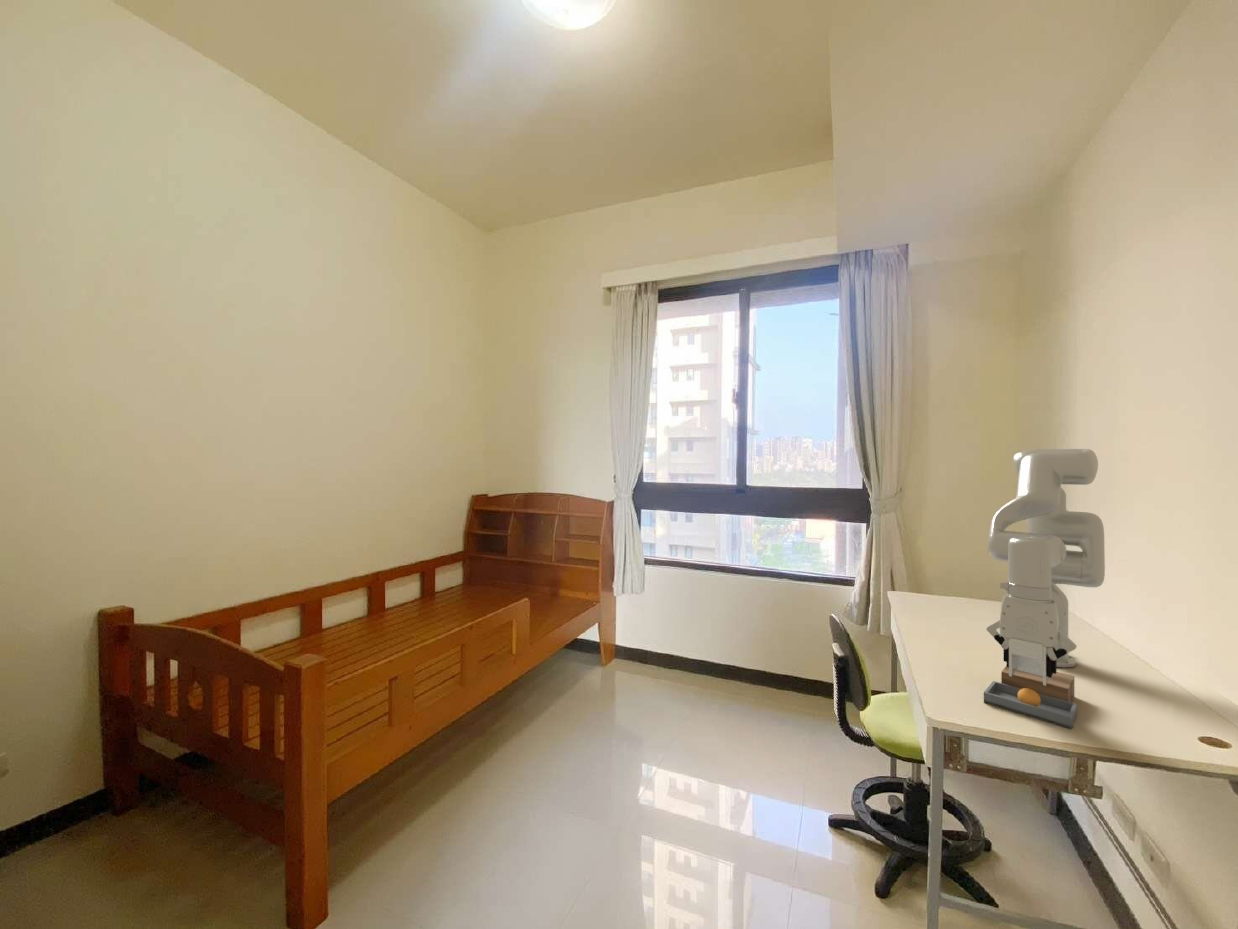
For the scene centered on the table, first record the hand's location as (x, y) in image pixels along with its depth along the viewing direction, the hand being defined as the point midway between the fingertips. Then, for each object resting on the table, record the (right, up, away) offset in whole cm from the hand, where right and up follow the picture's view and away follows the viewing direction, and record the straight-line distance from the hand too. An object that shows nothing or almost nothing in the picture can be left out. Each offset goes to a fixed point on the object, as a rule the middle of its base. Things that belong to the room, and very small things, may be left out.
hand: (1029, 669), depth 110 cm
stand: (+7, -9, +6) cm, 13 cm away
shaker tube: (0, -2, 0) cm, 2 cm away
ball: (-1, -6, -1) cm, 6 cm away
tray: (0, -9, 0) cm, 9 cm away
